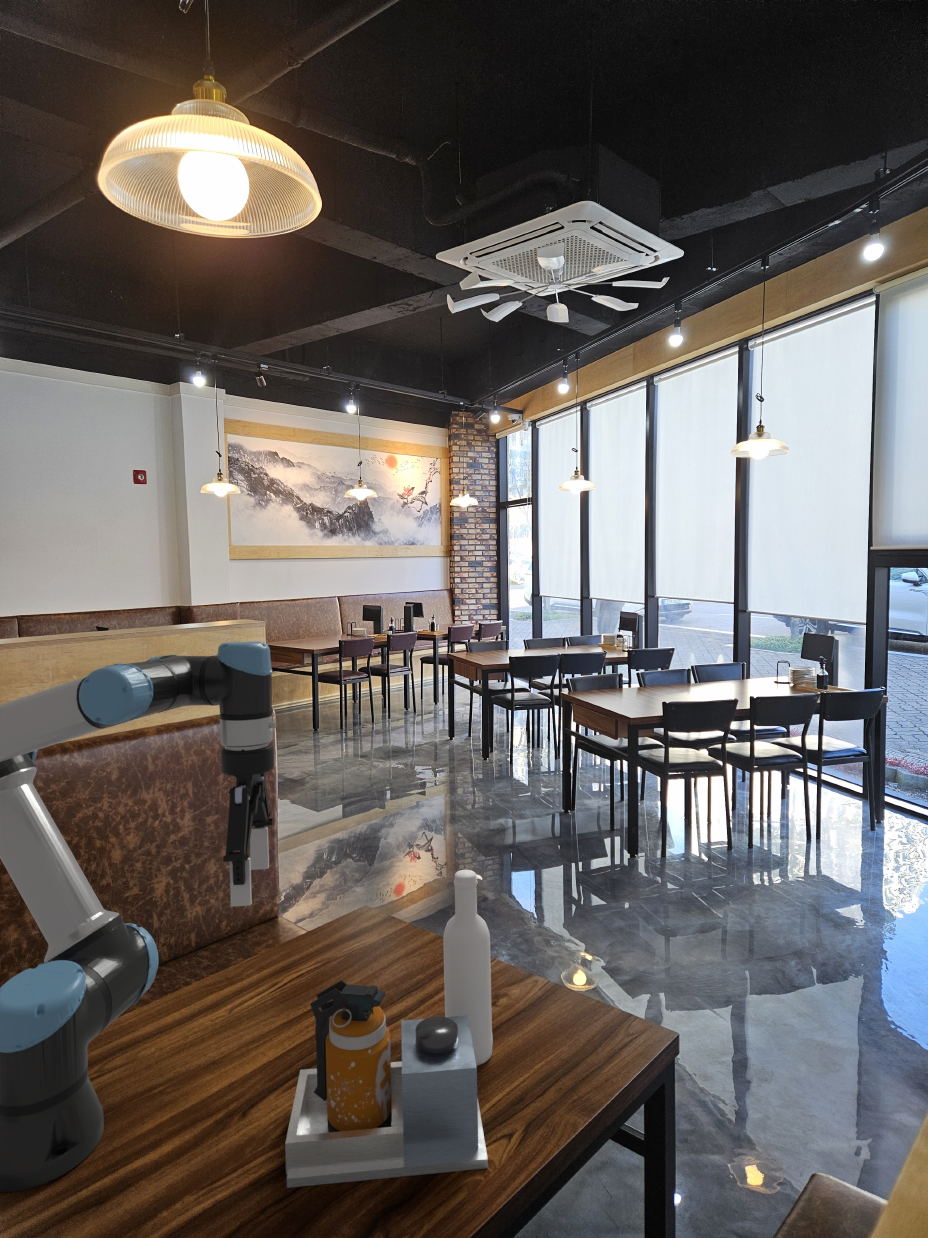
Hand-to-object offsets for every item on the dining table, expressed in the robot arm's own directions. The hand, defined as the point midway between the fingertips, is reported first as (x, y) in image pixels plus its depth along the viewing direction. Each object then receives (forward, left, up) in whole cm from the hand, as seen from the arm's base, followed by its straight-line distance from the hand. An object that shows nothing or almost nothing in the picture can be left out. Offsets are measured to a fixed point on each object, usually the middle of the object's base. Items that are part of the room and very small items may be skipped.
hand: (251, 886), depth 105 cm
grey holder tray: (+20, -9, -33) cm, 39 cm away
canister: (+15, -9, -32) cm, 36 cm away
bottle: (+33, +7, -33) cm, 47 cm away
